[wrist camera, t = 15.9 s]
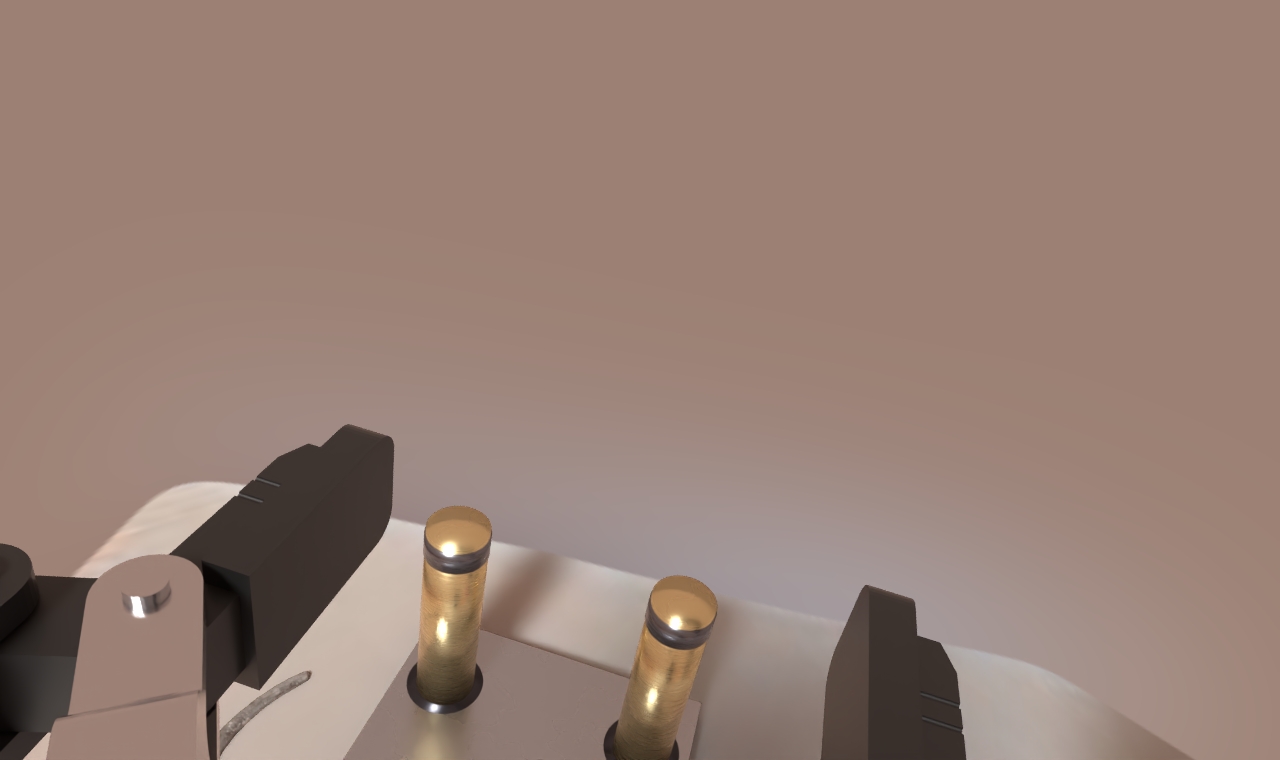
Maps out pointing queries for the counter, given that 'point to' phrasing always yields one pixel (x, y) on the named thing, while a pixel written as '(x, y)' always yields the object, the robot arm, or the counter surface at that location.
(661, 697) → the loose brass leg
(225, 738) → the pliers
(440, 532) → the fixed brass leg
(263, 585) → the robot arm
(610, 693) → the flange plate
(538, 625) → the counter surface
